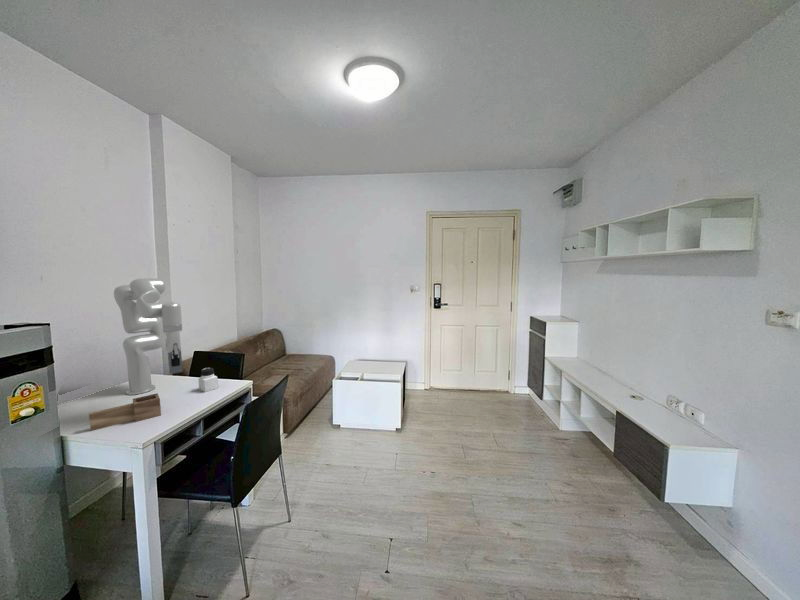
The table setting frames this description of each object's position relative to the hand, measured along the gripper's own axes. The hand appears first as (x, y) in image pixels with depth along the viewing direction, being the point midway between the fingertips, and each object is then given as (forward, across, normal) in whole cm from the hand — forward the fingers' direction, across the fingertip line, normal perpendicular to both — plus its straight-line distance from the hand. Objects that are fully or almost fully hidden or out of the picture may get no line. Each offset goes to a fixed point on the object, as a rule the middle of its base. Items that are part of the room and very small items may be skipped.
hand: (175, 364), depth 147 cm
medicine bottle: (+21, -15, +16) cm, 31 cm away
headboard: (+21, +2, -19) cm, 28 cm away
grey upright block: (+4, 0, 0) cm, 4 cm away
